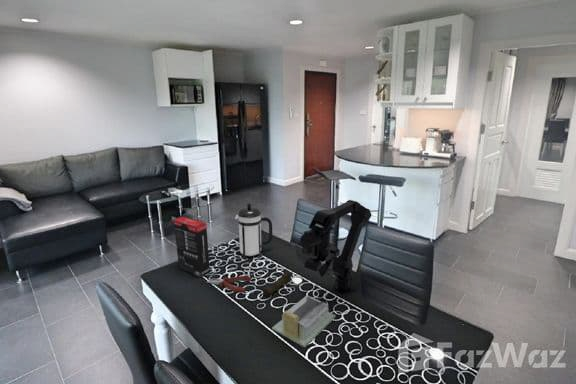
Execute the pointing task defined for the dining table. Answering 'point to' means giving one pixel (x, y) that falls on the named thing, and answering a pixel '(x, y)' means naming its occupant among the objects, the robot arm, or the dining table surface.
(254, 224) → the coffee press
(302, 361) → the dining table surface
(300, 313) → the dark grey flat bar
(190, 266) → the graphics card box
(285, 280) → the hand tool
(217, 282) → the pliers
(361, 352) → the dining table surface
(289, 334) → the board
